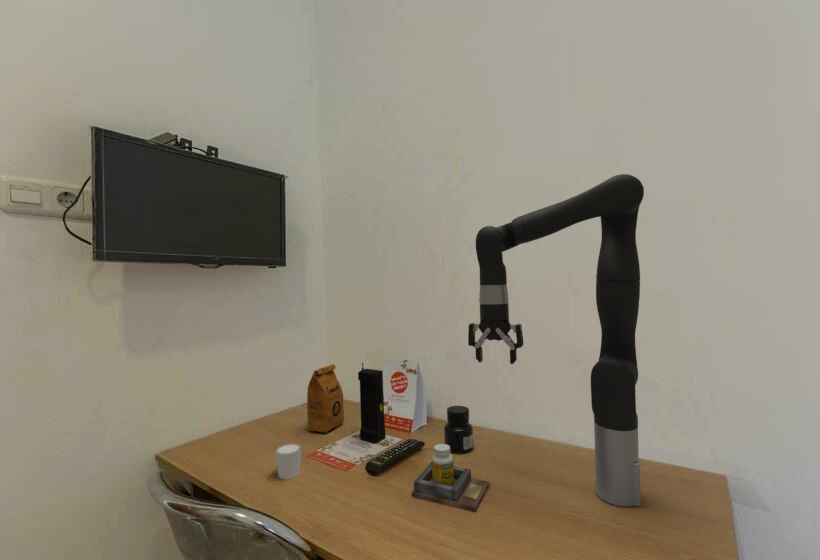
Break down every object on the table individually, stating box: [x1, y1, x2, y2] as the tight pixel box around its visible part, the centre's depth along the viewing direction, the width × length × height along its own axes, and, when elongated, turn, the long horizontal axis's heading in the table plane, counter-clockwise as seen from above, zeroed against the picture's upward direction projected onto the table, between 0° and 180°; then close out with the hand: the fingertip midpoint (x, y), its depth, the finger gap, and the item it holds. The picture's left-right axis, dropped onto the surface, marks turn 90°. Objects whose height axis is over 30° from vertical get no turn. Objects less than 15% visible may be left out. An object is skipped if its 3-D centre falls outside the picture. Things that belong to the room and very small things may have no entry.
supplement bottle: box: [431, 443, 454, 486], centre depth 98 cm, size 5×5×10 cm
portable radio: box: [357, 362, 387, 444], centre depth 130 cm, size 8×6×25 cm
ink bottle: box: [443, 405, 474, 454], centre depth 122 cm, size 10×9×12 cm
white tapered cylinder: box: [274, 443, 302, 480], centre depth 108 cm, size 7×7×7 cm
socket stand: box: [411, 461, 490, 512], centre depth 97 cm, size 16×12×4 cm
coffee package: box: [306, 363, 345, 433], centre depth 141 cm, size 10×12×22 cm
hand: (496, 362), depth 105 cm, fingers open, 8 cm apart
